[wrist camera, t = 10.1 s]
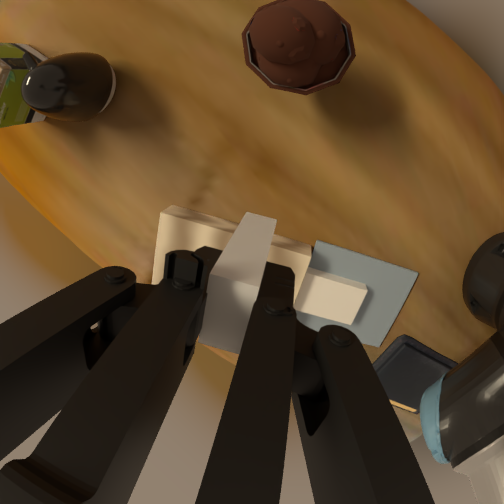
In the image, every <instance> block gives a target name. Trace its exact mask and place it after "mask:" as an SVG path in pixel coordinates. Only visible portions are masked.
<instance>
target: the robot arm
mask: <svg viewBox="0 0 504 504" xmlns="http://www.w3.org/2000/svg"><path fill="white" fill-rule="evenodd" d="M276 222H277V220H276V219H272V218H269V217H265V216H261V215H257V214H253V213H249V212H246V214H245V215H244V217H243V219H242V220H241V222H240V224H239V225H238V227H237V229H236V230H235V232H234V234H233V235H232V237H231V239H230V240H229V242H228V244H227V245H226V247H225V249H224V250H219V249H215V248H212V247H208V246H203V247H201V248H198V249H196V250H195V251H189V250H174V251H170V252H168V253H167V254H165V263H164V274H163V279H162V280H161V281H160V282H159V284H156V285H154V284H141V283H136V275H135V273H134V272H132V271H131V270H130V269H127V268H124V267H121V266H110V267H105V268H102V269H100V270H98V271H96V272H94V273H92V274H90V275H88V276H86V277H85V278H83V279H81V280H79V281H77V282H75V283H73V284H71V285H69V286H68V287H66V288H64V289H62V290H60V291H58V292H56V293H55V294H53V295H51V296H49V297H47V298H46V299H44V300H42V301H40V302H38V303H36V304H35V305H33V306H31V307H29V308H28V309H26V310H24V311H22V312H20V313H19V314H17V315H15V316H13V317H12V318H10V319H8V320H6V321H5V322H3V323H1V324H0V461H1V460H2V459H3V458H4V457H6V456H7V455H8V454H9V453H10V452H12V451H13V450H14V449H15V448H16V447H17V446H19V445H20V444H21V443H22V442H23V441H24V440H26V439H27V438H28V437H29V436H31V435H32V434H33V433H34V432H35V431H36V430H38V429H39V428H40V427H41V426H42V425H44V424H45V423H46V422H47V421H48V420H50V419H51V418H52V417H53V416H54V415H55V414H57V413H58V412H59V411H60V410H61V409H62V410H61V412H60V413H59V415H58V416H57V417H56V419H55V420H54V422H53V423H52V424H51V426H50V427H49V429H48V430H47V432H46V433H45V435H44V436H43V438H42V439H41V441H40V442H39V444H38V445H37V447H36V448H35V450H34V451H33V452H32V454H31V455H30V456H29V457H27V458H26V459H16V460H12V461H10V462H8V463H6V464H5V465H4V466H3V468H2V469H1V470H0V504H127V503H128V501H129V498H130V496H131V494H132V491H133V489H134V487H135V484H136V482H137V480H138V478H139V475H140V473H141V470H142V468H143V466H144V464H145V462H146V459H147V457H148V455H149V452H150V450H151V448H152V445H153V443H154V441H155V439H156V437H157V434H158V432H159V430H160V427H161V425H162V423H163V420H164V418H165V416H166V414H167V412H168V409H169V407H170V405H171V403H172V400H173V398H174V396H175V394H176V391H177V389H178V387H179V385H180V383H181V380H182V378H183V376H184V373H185V371H186V369H187V367H188V365H189V363H190V360H191V358H192V356H193V354H194V349H195V342H196V340H197V338H198V335H199V340H198V342H199V343H202V344H205V345H209V346H212V347H215V348H219V349H222V350H226V351H229V352H233V353H237V354H239V357H238V361H237V364H236V368H235V371H234V375H233V378H232V382H231V385H230V389H229V392H228V396H227V399H226V403H225V406H224V409H223V412H222V416H221V420H220V423H219V426H218V430H217V433H216V436H215V440H214V443H213V447H212V450H211V453H210V456H209V460H208V463H207V466H206V469H205V473H204V476H203V479H202V483H201V486H200V489H199V492H198V496H197V499H196V502H195V504H279V500H280V493H281V485H282V477H283V469H284V460H285V451H286V442H287V432H288V422H289V413H290V401H291V397H292V401H293V406H294V410H295V415H296V419H297V424H298V428H299V433H300V437H301V442H302V446H303V451H304V456H305V460H306V464H307V469H308V474H309V478H310V483H311V487H312V492H313V496H314V501H315V504H435V503H434V500H433V498H432V495H431V493H430V490H429V488H428V485H427V483H426V481H425V478H424V476H423V473H422V471H421V469H420V467H419V464H418V462H417V459H416V457H415V455H414V453H413V450H412V448H411V446H410V444H409V441H408V439H407V437H406V435H405V432H404V430H403V428H402V426H401V424H400V422H399V419H398V417H397V415H396V413H395V411H394V409H393V407H392V404H391V402H390V400H389V398H388V396H387V394H386V392H385V390H384V388H383V386H382V384H381V382H380V380H379V377H378V375H377V373H376V371H375V369H374V367H373V365H372V363H371V361H370V359H369V357H368V355H367V353H366V351H365V350H364V348H363V346H362V344H361V342H360V340H359V338H358V337H357V336H356V335H355V334H354V333H353V332H352V331H350V330H349V329H347V328H344V327H342V326H338V325H325V326H323V327H321V328H320V330H319V332H317V331H315V330H313V329H311V328H309V327H307V326H305V325H304V324H302V323H301V322H300V321H299V320H298V319H297V314H296V310H295V309H294V307H293V304H294V287H295V273H294V272H293V270H292V269H291V267H287V266H283V265H279V264H276V263H272V262H268V261H267V257H268V253H269V249H270V245H271V241H272V238H273V234H274V230H275V226H276ZM463 298H464V301H465V304H466V305H467V307H468V308H469V310H470V311H471V313H472V314H473V315H474V316H475V317H476V318H477V319H479V320H480V321H482V322H484V323H486V324H488V325H490V326H491V327H493V328H495V329H497V330H498V331H497V332H496V333H495V334H494V335H493V336H491V337H490V338H489V339H488V340H487V341H486V342H484V343H483V344H482V345H481V346H480V347H479V348H478V349H476V350H475V351H474V352H473V353H472V354H470V355H469V356H468V357H467V358H466V359H464V360H463V361H462V362H460V363H459V364H458V365H457V366H455V367H454V368H453V369H451V370H450V371H448V372H446V373H444V374H443V375H442V377H441V378H440V379H439V380H438V381H436V382H435V383H434V384H432V385H431V386H430V387H429V388H427V389H426V391H425V392H424V394H423V396H422V399H421V403H420V420H421V426H422V431H423V435H424V438H425V441H426V444H427V446H428V448H429V450H431V452H432V456H433V457H434V458H435V460H436V461H437V462H439V463H441V464H444V463H450V462H451V465H452V468H453V470H454V471H455V472H458V473H462V474H465V475H467V476H468V477H469V479H470V482H471V485H472V488H473V491H474V494H475V497H476V500H477V503H478V504H504V232H503V233H499V234H497V235H494V236H493V237H491V238H489V239H488V240H487V241H485V242H484V243H483V244H482V245H481V246H480V247H479V249H478V250H477V251H476V252H475V254H474V255H473V257H472V259H471V260H470V262H469V264H468V267H467V269H466V272H465V275H464V280H463ZM97 322H98V326H97V327H96V328H94V329H92V330H91V328H90V327H91V326H92V325H94V324H95V323H97ZM199 333H200V334H199Z"/></svg>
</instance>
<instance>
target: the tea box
mask: <svg viewBox="0 0 504 504" xmlns="http://www.w3.org/2000/svg"><path fill="white" fill-rule="evenodd" d="M28 51H29V52H30V53H31V55H32V56H33V57H34V59H35V60H36V61H37V63H38V64H39V63H41V62H42V61H45V60H47V59H48V58H47V57H45V56H44V55H42V54H41V53H39V52H38V51H36V50H35V49H33V48H32V47H30V46H29V45H27V44H15V43H14V44H13V43H0V128H1V127H8V126H12V125H20V124H25V123H32V122H39V121H44V119H45V117H46V116H45V115H42V114H40V113H38V112H36V111H34V110H33V109H31V108H30V107H29V106H28V105H27V104H26V103H25V102H24V100H23V98H22V96H21V84H22V81H23V79H24V77H25V75H26V74H27V73H28V71H29V70H28V68H27V66H26V64H25V62H24V60H23V58H22V56H23V54H24V53H25V52H28Z"/></svg>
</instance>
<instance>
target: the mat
mask: <svg viewBox="0 0 504 504" xmlns="http://www.w3.org/2000/svg"><path fill="white" fill-rule="evenodd" d="M308 267H310V268H313V269H317V270H320V271H323V272H327V273H330V274H333V275H337V276H340V277H344V278H347V279H350V280H354V281H357V282H360V283H364V284H366V287H367V293H366V295H365V298H364V300H363V302H362V304H361V306H360V308H359V310H358V312H357V314H356V316H355V318H354V320H353V322H352V324H351V325H348V324H345V323H341V322H337V321H333V320H330V319H326V318H322V317H319V316H315V315H312V314H308V313H304V312H301V311H297V310H296V314H297V319H298V320H299V321H300V322H301V323H302V324H304V325H305V326H307V327H309V328H311V329H313V330H315V331H317V332H319V330H320V328H321V327H323V326H325V325H338V326H342V327H344V328H347V329H349V330H350V331H352V332H353V333H354V334H355V335H356V336H357V337H358V338H359V340H360V342H361V343H363V344H368V345H372V346H376V347H379V346H380V345H381V343H382V341H383V339H384V338H385V336H386V334H387V333H388V331H389V329H390V327H391V326H392V324H393V322H394V320H395V318H396V317H397V315H398V313H399V311H400V309H401V307H402V305H403V304H404V302H405V300H406V298H407V296H408V294H409V292H410V290H411V288H412V286H413V284H414V282H415V280H416V278H417V276H418V274H419V273H418V272H415V271H413V270H410V269H407V268H404V267H401V266H398V265H395V264H391V263H388V262H385V261H382V260H379V259H376V258H373V257H370V256H367V255H364V254H361V253H358V252H355V251H351V250H348V249H345V248H342V247H339V246H336V245H332V244H329V243H326V242H323V241H320V240H317V241H316V244H315V247H314V249H313V252H312V257H311V260H310V263H309V265H308Z"/></svg>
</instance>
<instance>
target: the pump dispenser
mask: <svg viewBox="0 0 504 504" xmlns="http://www.w3.org/2000/svg"><path fill="white" fill-rule="evenodd" d="M22 58H23V60H24V62H25V64H26V66H27V68H28V70H29V71H28V73H27V74H26V75H25V77H24V79H23V81H22V84H21V96H22V98H23V100H24V102H25V103H26V104H27V105H28V106H29V107H30V108H31V109H33V110H34V111H36V112H38V113H40V114H42V115H45V116H48V117H50V118H54V119H57V120H62V121H70V122H82V121H87V120H89V119H91V118H93V117H95V116H96V115H97V114H98V113H100V112H101V111H102V110H104V109H105V108H106V107H107V105H108V104H109V103H110V101H111V99H112V97H113V95H114V92H115V88H116V77H115V73H114V71H113V69H112V67H111V66H110V64H109V63H108V61H107V60H106V59H105V58H104V57H102V56H101V55H98V54H94V53H87V52H78V53H68V54H62V55H58V56H55V57H52V58H49V59H47V60H45V61H42V62H41V63H39V64H38V63H37V61H36V60H35V59H34V57H33V56H32V55H31V53H30V52H29V51H28V52H25V53H24V54H23V56H22Z"/></svg>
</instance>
